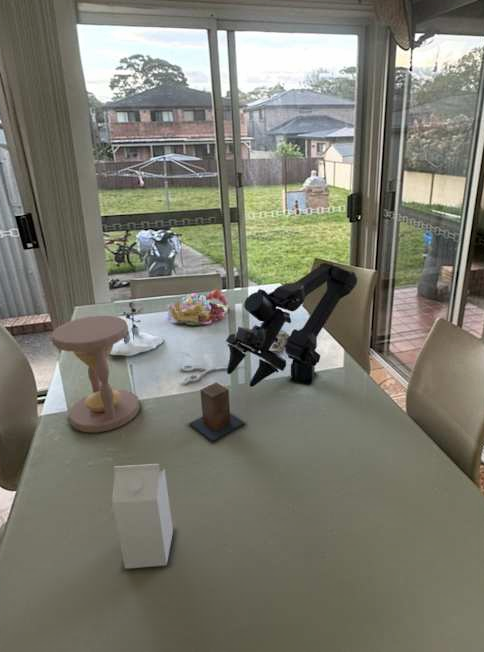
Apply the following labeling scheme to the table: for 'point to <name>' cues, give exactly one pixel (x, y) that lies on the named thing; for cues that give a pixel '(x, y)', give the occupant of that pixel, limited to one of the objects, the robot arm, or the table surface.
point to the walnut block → (215, 406)
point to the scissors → (207, 369)
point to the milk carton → (142, 515)
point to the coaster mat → (219, 433)
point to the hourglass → (97, 372)
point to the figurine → (135, 339)
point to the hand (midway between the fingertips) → (239, 379)
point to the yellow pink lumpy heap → (198, 309)
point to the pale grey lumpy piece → (280, 342)
